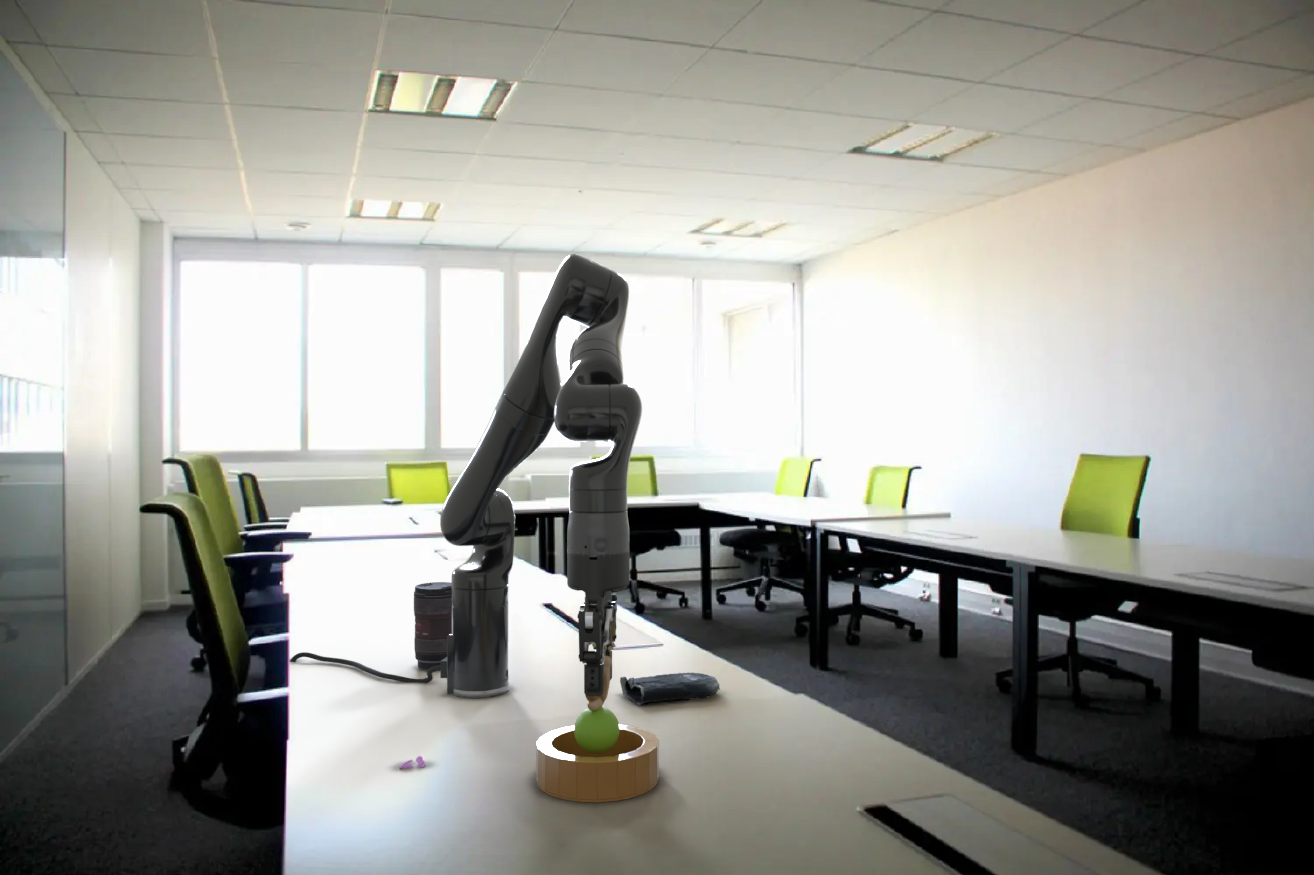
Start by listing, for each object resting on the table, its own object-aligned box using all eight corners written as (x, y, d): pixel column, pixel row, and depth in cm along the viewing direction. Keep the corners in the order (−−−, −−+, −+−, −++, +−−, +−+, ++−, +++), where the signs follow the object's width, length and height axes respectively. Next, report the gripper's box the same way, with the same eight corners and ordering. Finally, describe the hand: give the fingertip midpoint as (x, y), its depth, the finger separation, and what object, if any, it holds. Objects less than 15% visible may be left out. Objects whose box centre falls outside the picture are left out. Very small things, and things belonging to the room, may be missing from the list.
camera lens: (404, 669, 165) (404, 586, 165) (431, 660, 172) (431, 580, 172) (441, 673, 162) (441, 589, 162) (467, 663, 169) (467, 583, 169)
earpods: (405, 781, 113) (405, 777, 112) (399, 770, 114) (398, 766, 113) (427, 768, 115) (427, 764, 113) (421, 757, 115) (421, 752, 114)
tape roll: (523, 799, 103) (523, 759, 103) (551, 757, 117) (551, 721, 117) (651, 804, 101) (651, 764, 101) (663, 760, 116) (663, 725, 116)
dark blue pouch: (644, 718, 139) (730, 693, 145) (638, 681, 139) (723, 659, 146) (623, 710, 147) (704, 688, 154) (617, 676, 148) (698, 655, 154)
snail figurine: (629, 745, 112) (628, 647, 112) (609, 762, 106) (609, 658, 106) (588, 740, 113) (588, 644, 113) (566, 757, 107) (566, 655, 107)
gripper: (578, 542, 117) (578, 673, 117) (555, 555, 103) (555, 703, 103) (636, 542, 117) (636, 674, 116) (621, 555, 102) (621, 705, 102)
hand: (598, 687), depth 110 cm, fingers closed on snail figurine, 6 cm apart
